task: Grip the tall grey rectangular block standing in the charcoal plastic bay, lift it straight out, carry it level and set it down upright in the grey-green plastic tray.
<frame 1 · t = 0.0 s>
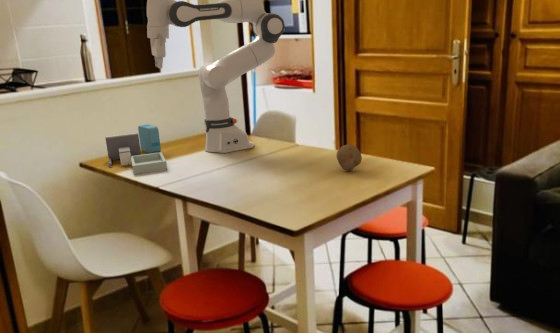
hand: (158, 67, 221), 39 cm above the table, tool pointing down, fingers open, 8 cm apart
tray: (148, 166, 215), on the table
data package: (151, 151, 242), on the table
bay: (126, 162, 225), on the table
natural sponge: (349, 171, 192), on the table
tall grey rectangular block: (126, 162, 225), on the table
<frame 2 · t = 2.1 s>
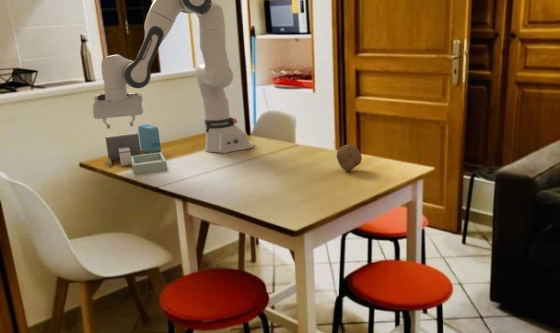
hand: (120, 127, 221), 16 cm above the table, tool pointing down, fingers open, 8 cm apart
nothing on the table moved.
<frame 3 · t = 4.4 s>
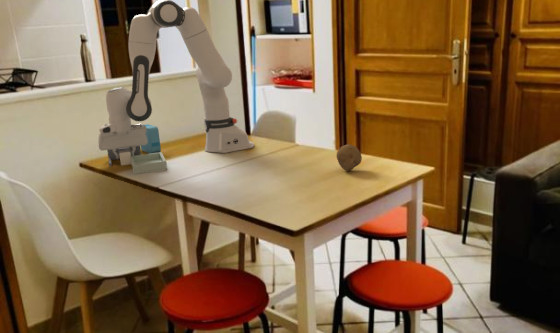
hand: (125, 157, 224), 2 cm above the table, tool pointing down, fingers closed on tall grey rectangular block, 4 cm apart
tall grey rectangular block: (126, 162, 225), on the table, touching gripper
everything else where it was.
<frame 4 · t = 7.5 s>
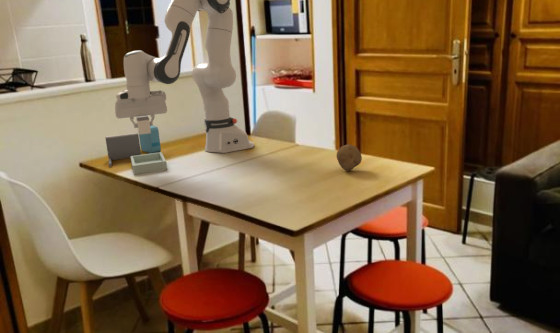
hand: (143, 126, 211), 17 cm above the table, tool pointing down, fingers closed on tall grey rectangular block, 4 cm apart
tall grey rectangular block: (144, 131, 211), point 15 cm above the table, touching gripper
everything else where it was.
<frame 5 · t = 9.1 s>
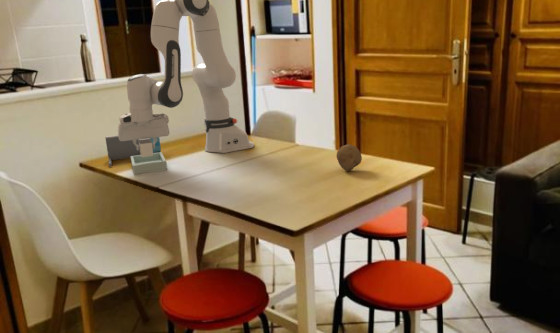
hand: (145, 149, 213), 8 cm above the table, tool pointing down, fingers closed on tall grey rectangular block, 4 cm apart
tall grey rectangular block: (146, 154, 213), point 6 cm above the table, touching gripper
everything else where it was.
when the fingers open (5 cm above the table, at t = 10.5 s): tall grey rectangular block drops 1 cm, resting on tray.
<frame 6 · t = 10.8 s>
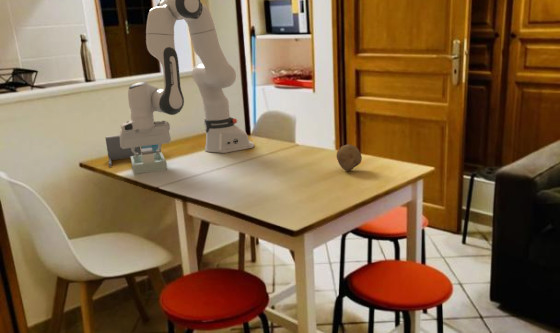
hand: (147, 156, 214), 5 cm above the table, tool pointing down, fingers open, 7 cm apart
tall grey rectangular block: (148, 164, 215), point 1 cm above the table, touching tray
everything else where it was.
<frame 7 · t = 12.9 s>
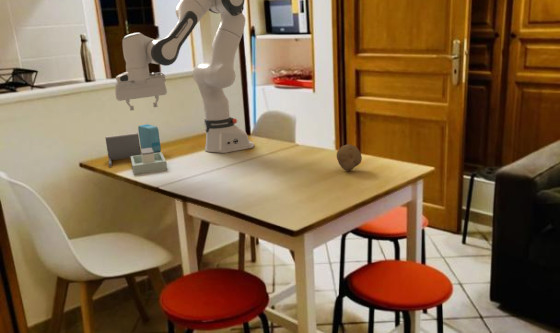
hand: (143, 108, 213), 24 cm above the table, tool pointing down, fingers open, 8 cm apart
nothing on the table moved.
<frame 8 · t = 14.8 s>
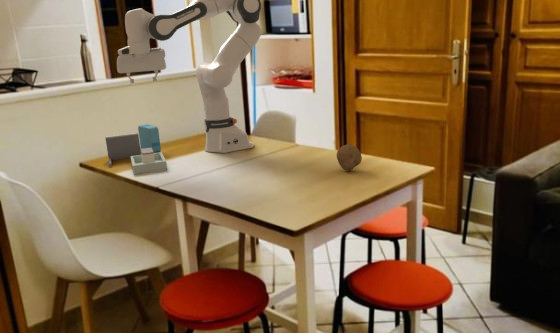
hand: (143, 82, 222), 33 cm above the table, tool pointing down, fingers open, 8 cm apart
nothing on the table moved.
at the end: tall grey rectangular block inside the target area on the tray (0.1 cm from its centre), point 1.0 cm above the tray's base; tall grey rectangular block tilted 0°; the gripper is holding nothing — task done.
